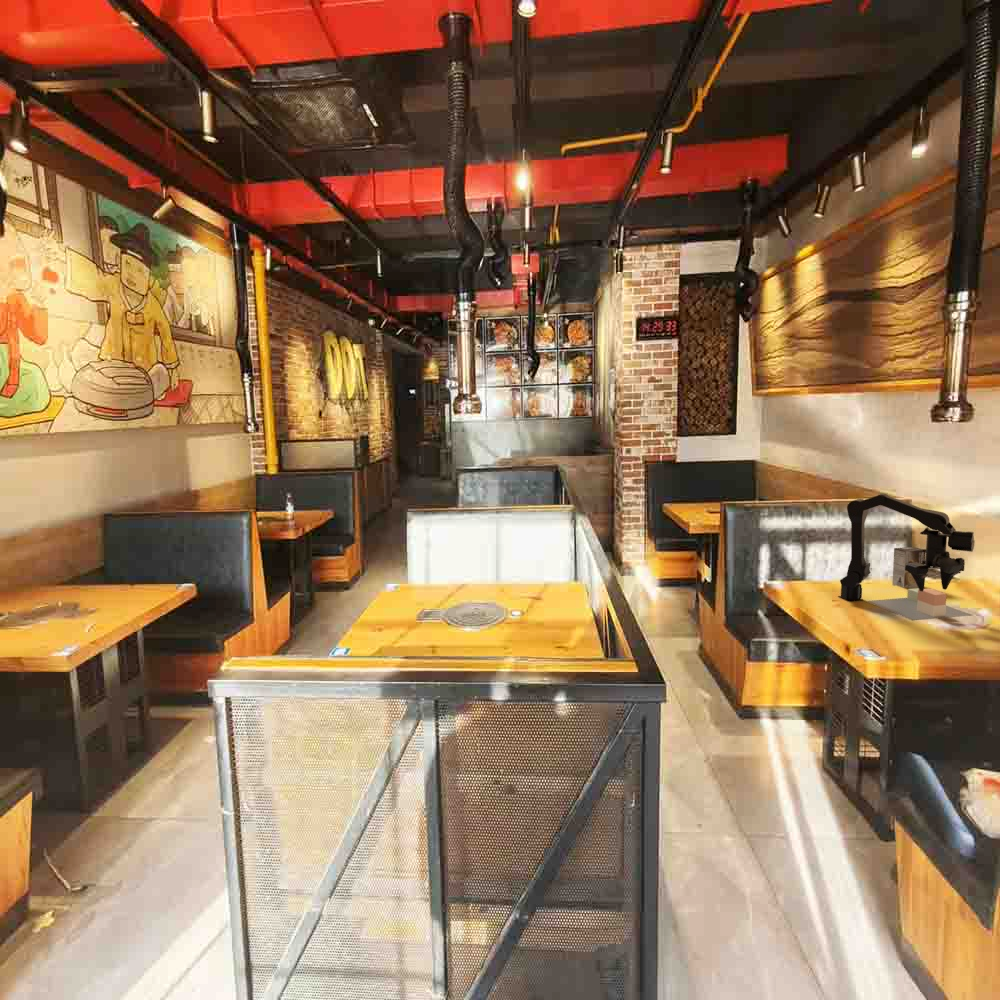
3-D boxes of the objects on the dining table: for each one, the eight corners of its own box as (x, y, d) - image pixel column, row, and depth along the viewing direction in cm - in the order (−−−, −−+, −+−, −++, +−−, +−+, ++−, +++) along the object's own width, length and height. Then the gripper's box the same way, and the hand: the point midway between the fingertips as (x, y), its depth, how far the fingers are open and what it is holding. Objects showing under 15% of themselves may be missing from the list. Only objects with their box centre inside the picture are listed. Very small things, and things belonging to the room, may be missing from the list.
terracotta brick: (945, 604, 206) (946, 594, 206) (934, 605, 206) (935, 595, 205) (928, 598, 213) (929, 588, 213) (917, 599, 212) (918, 589, 212)
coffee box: (911, 583, 247) (913, 546, 244) (923, 587, 240) (926, 549, 238) (891, 584, 245) (893, 547, 243) (903, 589, 239) (906, 551, 237)
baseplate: (912, 621, 204) (913, 609, 203) (865, 602, 225) (865, 591, 224) (973, 616, 207) (974, 604, 206) (920, 597, 228) (921, 586, 228)
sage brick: (933, 603, 219) (934, 593, 219) (922, 604, 219) (923, 594, 218) (917, 598, 226) (918, 588, 226) (907, 599, 226) (907, 589, 225)
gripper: (932, 554, 197) (928, 599, 199) (980, 551, 200) (977, 595, 202) (905, 547, 208) (902, 589, 210) (951, 544, 211) (948, 586, 213)
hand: (932, 590), depth 209 cm, fingers open, 9 cm apart
